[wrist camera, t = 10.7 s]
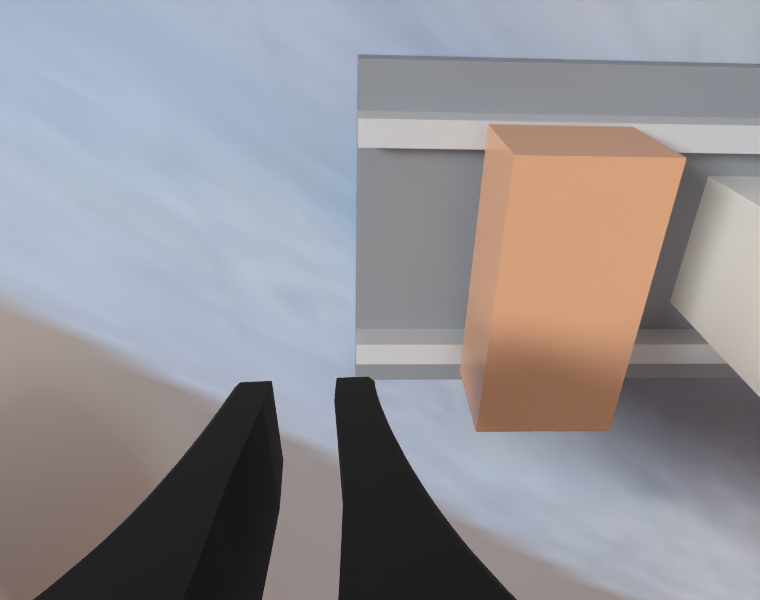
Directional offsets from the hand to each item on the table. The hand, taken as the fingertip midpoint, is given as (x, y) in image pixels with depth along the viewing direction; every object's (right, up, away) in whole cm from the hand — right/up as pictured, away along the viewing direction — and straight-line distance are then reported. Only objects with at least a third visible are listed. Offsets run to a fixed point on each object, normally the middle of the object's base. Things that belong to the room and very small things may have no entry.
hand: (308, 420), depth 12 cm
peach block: (+6, +4, +7) cm, 10 cm away
